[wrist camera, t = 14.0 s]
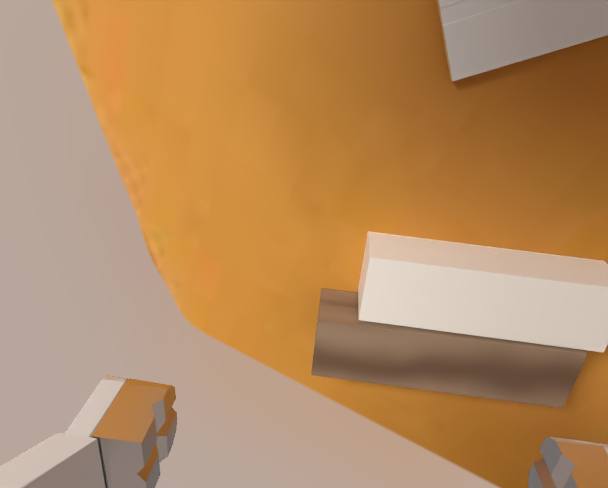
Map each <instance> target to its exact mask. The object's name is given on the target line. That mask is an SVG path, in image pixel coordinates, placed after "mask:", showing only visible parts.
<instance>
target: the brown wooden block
mask: <svg viewBox="0 0 608 488" xmlns="http://www.w3.org/2000/svg"><path fill="white" fill-rule="evenodd" d="M587 355H588V354H587V353H586V351H585V350H581V349H573V348H566V347H558V346H550V345H543V344H535V343H528V342H520V341H513V340H505V339H498V338H490V337H482V336H475V335H467V334H460V333H452V332H445V331H437V330H430V329H422V328H414V327H407V326H399V325H392V324H384V323H377V322H369V321H362V320H359V316H358V293H356V292H347V291H339V290H331V289H323V288H322V289H321V297H320V306H319V314H318V322H317V331H316V339H315V348H314V356H313V365H312V373H311V375H315V376H323V377H330V378H338V379H345V380H353V381H361V382H368V383H376V384H383V385H391V386H398V387H406V388H414V389H421V390H429V391H436V392H444V393H452V394H459V395H467V396H474V397H482V398H489V399H497V400H505V401H512V402H520V403H527V404H535V405H542V406H550V407H558V408H563V407H564V405H565V402H566V400H567V398H568V396H569V394H570V392H571V390H572V387H573V385H574V383H575V381H576V379H577V377H578V375H579V373H580V370H581V368H582V366H583V364H584V362H585V360H586V358H587Z"/></svg>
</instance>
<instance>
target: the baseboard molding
mask: <svg viewBox="0 0 608 488" xmlns="http://www.w3.org/2000/svg"><path fill="white" fill-rule="evenodd" d="M437 5H438V11H439V17H440V23H441V29H442V35H443V40H444V46H445V52H446V58H447V64H448V70H449V75H450V79H451V81H452V82H453V81H456V80H459V79H463V78H466V77H469V76H473V75H476V74H480V73H483V72H486V71H490V70H493V69H496V68H500V67H503V66H506V65H510V64H513V63H516V62H520V61H523V60H526V59H530V58H533V57H537V56H540V55H543V54H547V53H550V52H553V51H557V50H560V49H563V48H567V47H570V46H573V45H577V44H580V43H583V42H587V41H590V40H594V39H597V38H600V37H604V36H607V35H608V0H437Z"/></svg>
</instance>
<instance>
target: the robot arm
mask: <svg viewBox="0 0 608 488" xmlns="http://www.w3.org/2000/svg"><path fill="white" fill-rule="evenodd" d="M175 399H176V396H175V387H173V386H171V385H165V384H159V383H153V382H147V381H141V380H135V379H126V378H120V377H114V376H106V377H105V378H104V379H102V380H101V381H100V383H99V384H98V386H97V387H96V389H95V390H94V392H93V393H92V394H91V396H90V397H89V399H88V400H87V402H86V403H85V405H84V406H83V407H82V409H81V410H80V412H79V413H78V415H77V416H76V418H75V419H74V421H73V422H72V423H71V425H70V426H69V428H68V429H67V431H66V432H65V433H56V434H55V435H53V436H51V437H50V438H48V439H46V440H44V441H43V442H41V443H40V444H38V445H36V446H35V447H33V448H31V449H29V450H27V451H26V452H24V453H22V454H21V455H19V456H17V457H16V458H14V459H12V460H10V461H9V462H7V463H5V464H4V465H2V466H0V488H155V486H156V483H157V481H158V479H159V476H160V467H159V466H160V465H159V463H160V462H161V461H162V460H163V459H165V458H166V457H168V455H169V452H170V450H171V447H172V445H173V441H174V437H175V433H176V426H177V413H176V411H175V410H174V409H173V408H172V405H173V403H174V401H175ZM540 450H541V452H542V455H543V457H542V458H540V459H539V460H537V461H535V462H534V463H533V465H532V467H531V470H530V472H529V483H528V488H608V444H602V443H594V442H587V441H579V440H571V439H563V438H555V437H548V438H546V439H545V440H544V441H543V443H542V445H541V447H540Z"/></svg>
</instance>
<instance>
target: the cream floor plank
mask: <svg viewBox="0 0 608 488" xmlns="http://www.w3.org/2000/svg"><path fill="white" fill-rule="evenodd" d="M358 316H359V320H362V321H369V322H377V323H384V324H392V325H399V326H407V327H414V328H422V329H430V330H437V331H445V332H452V333H460V334H467V335H475V336H482V337H490V338H498V339H505V340H513V341H520V342H528V343H535V344H543V345H550V346H558V347H566V348H573V349H581V350H588V351H596V352H603V353H604V351H605V349H606V347H607V345H608V264H607V263H606V262H605V261H602V260H594V259H586V258H578V257H570V256H562V255H554V254H546V253H538V252H530V251H521V250H513V249H505V248H497V247H489V246H481V245H473V244H465V243H457V242H449V241H441V240H433V239H425V238H417V237H409V236H401V235H393V234H385V233H376V232H368V235H367V241H366V247H365V253H364V259H363V264H362V270H361V276H360V282H359V288H358Z"/></svg>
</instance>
